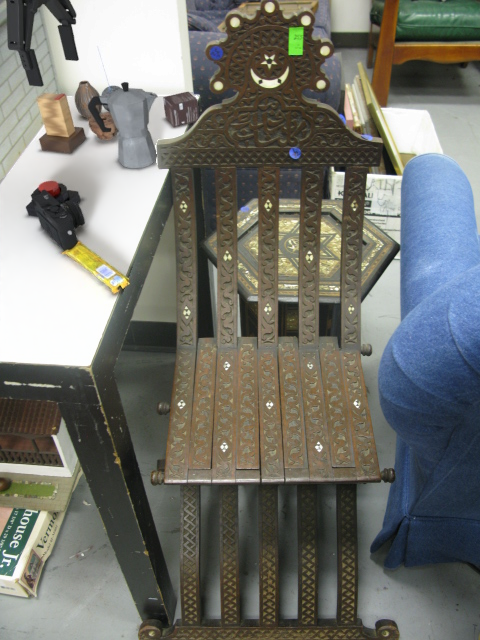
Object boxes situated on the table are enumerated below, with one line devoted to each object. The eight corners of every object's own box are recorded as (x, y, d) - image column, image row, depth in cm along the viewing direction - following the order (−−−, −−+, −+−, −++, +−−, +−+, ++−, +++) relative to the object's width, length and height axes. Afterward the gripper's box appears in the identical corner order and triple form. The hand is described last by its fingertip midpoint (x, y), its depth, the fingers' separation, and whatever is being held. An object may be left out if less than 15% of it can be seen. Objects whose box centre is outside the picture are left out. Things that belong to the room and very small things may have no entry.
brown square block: (42, 150, 137) (38, 138, 135) (58, 135, 143) (55, 124, 140) (70, 153, 135) (67, 142, 133) (86, 138, 141) (83, 127, 139)
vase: (82, 123, 147) (74, 89, 141) (75, 113, 151) (67, 80, 145) (107, 116, 149) (100, 83, 143) (99, 107, 154) (92, 75, 147)
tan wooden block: (46, 134, 136) (35, 97, 130) (54, 128, 139) (43, 91, 132) (68, 137, 135) (58, 99, 128) (75, 130, 137) (66, 93, 131)
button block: (28, 215, 116) (22, 199, 113) (48, 195, 122) (43, 179, 119) (62, 220, 114) (57, 203, 112) (80, 200, 120) (76, 183, 117)
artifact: (104, 128, 144) (100, 109, 141) (128, 133, 141) (124, 114, 138) (85, 141, 139) (81, 121, 136) (109, 146, 137) (105, 127, 133)
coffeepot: (164, 146, 136) (154, 71, 123) (167, 165, 129) (156, 87, 117) (101, 153, 135) (84, 78, 122) (100, 173, 128) (82, 95, 115)
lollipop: (137, 67, 133) (116, 83, 132) (132, 108, 153) (113, 123, 151) (109, 37, 133) (87, 53, 131) (107, 82, 152) (88, 97, 150)
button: (36, 196, 115) (34, 189, 113) (47, 187, 117) (44, 179, 116) (54, 199, 114) (51, 191, 113) (63, 189, 116) (61, 181, 115)
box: (199, 121, 146) (174, 128, 144) (190, 112, 150) (165, 119, 147) (197, 99, 141) (171, 105, 139) (188, 90, 145) (162, 96, 143)
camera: (101, 243, 108) (92, 208, 102) (67, 258, 105) (56, 223, 99) (68, 212, 116) (58, 178, 111) (36, 226, 113) (24, 191, 107)
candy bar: (112, 290, 95) (115, 297, 97) (131, 276, 97) (133, 284, 99) (58, 247, 104) (61, 255, 105) (76, 236, 105) (79, 243, 107)
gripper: (-2, -37, 86) (37, 99, 101) (77, -69, 103) (101, 51, 118) (-42, -39, 88) (2, 95, 103) (42, -70, 105) (70, 49, 120)
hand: (55, 72), depth 110 cm, fingers open, 13 cm apart
